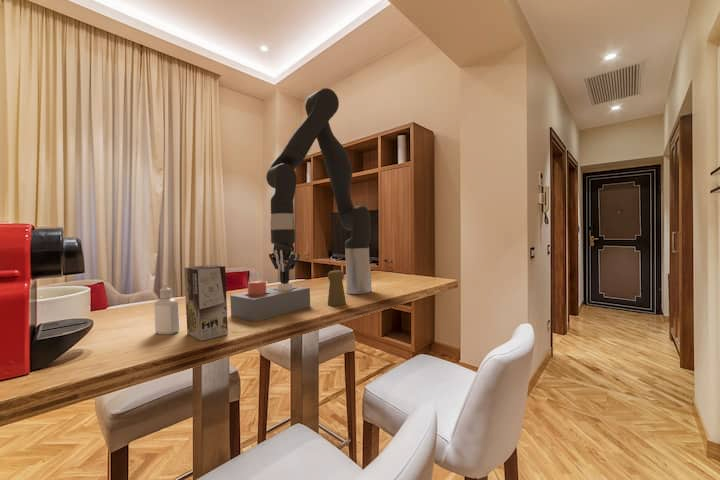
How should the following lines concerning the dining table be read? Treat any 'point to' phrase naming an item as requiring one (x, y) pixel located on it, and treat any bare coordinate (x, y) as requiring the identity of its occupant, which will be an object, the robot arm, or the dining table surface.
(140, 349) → the dining table surface
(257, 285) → the red plunger
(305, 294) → the console
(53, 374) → the dining table surface
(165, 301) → the eye dropper bottle
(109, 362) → the dining table surface
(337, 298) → the cork
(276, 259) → the robot arm
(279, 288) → the white rounded block
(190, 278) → the coffee box
